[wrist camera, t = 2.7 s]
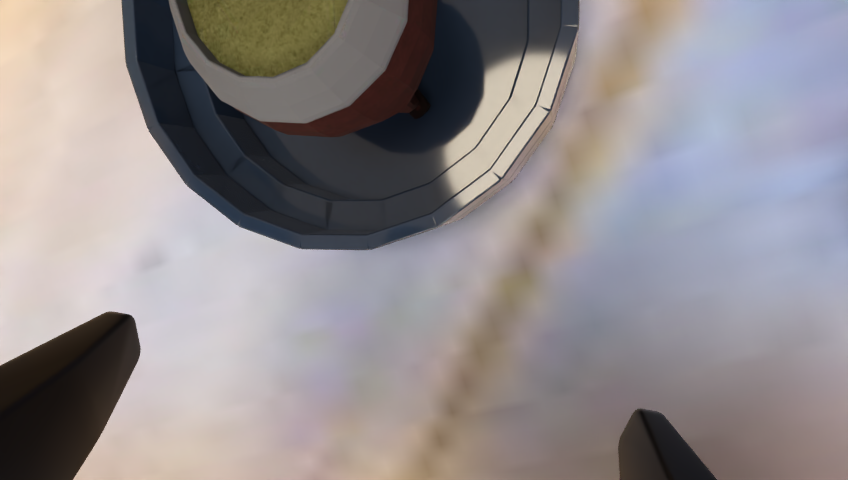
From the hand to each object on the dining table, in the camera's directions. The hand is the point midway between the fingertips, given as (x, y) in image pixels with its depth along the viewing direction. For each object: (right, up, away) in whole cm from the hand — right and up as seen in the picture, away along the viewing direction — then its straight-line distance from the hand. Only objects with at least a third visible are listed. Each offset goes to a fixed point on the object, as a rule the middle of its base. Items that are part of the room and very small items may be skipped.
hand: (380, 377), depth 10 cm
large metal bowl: (-1, +10, +11) cm, 15 cm away
